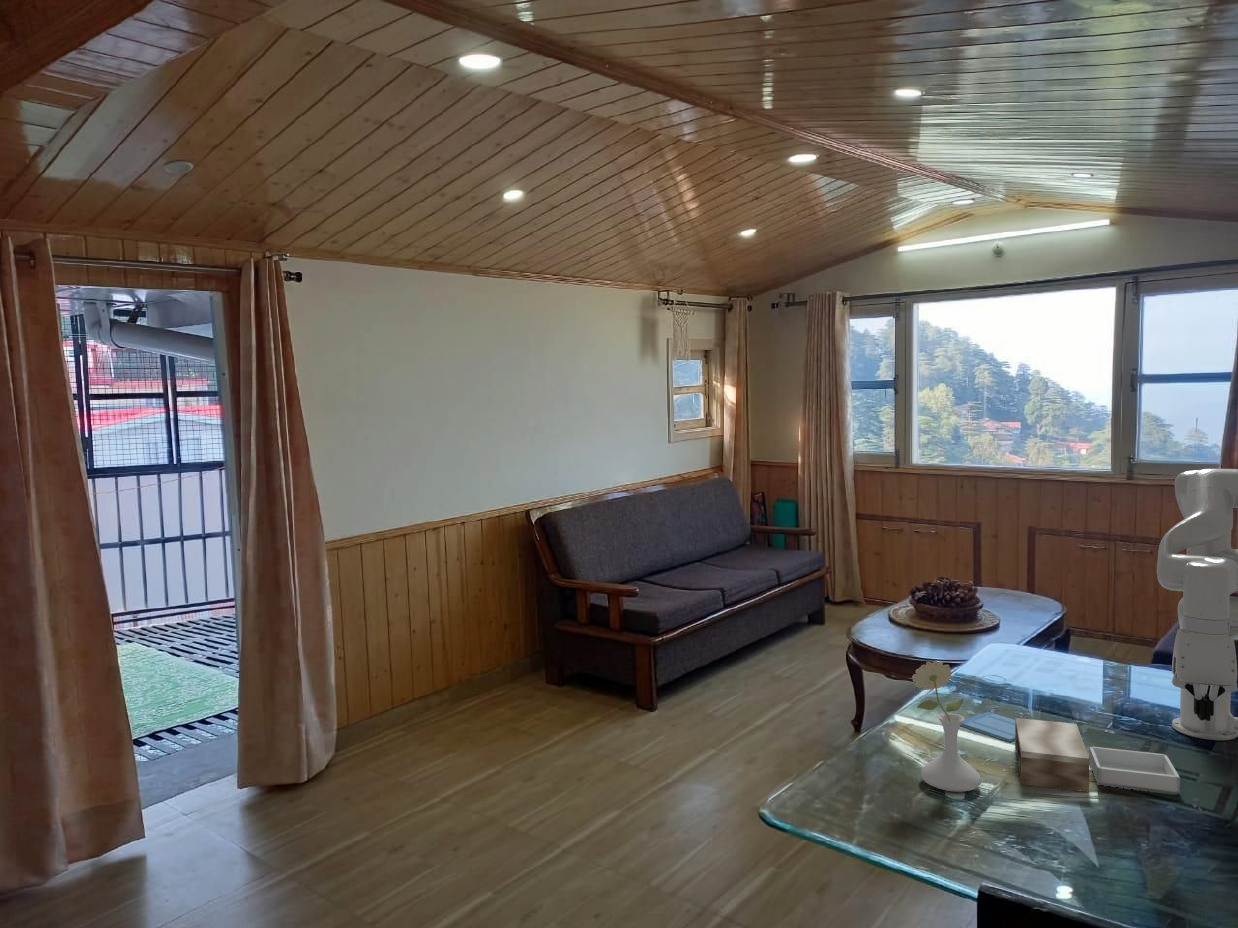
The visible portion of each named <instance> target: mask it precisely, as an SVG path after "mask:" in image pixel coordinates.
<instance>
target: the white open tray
mask: <svg viewBox="0 0 1238 928" xmlns="http://www.w3.org/2000/svg"><path fill="white" fill-rule="evenodd" d="M1088 747H1089V749H1088V750H1089V751H1088V756H1089V767H1090V768H1092V769H1091V772H1092V771H1093V772H1092V774H1093V773H1094V775H1093V777H1094V776H1095V777H1094V779H1096V780H1095V782H1096V781H1097V783H1096V785H1097V784H1099V785H1104V786H1103V787H1106V786H1111V787H1110V788H1115V787H1119V788H1118V789H1123V788H1124V789H1125V790H1131V789H1133V791H1140V790H1141V791H1142V792H1148V791H1149V792H1150V793H1158V794H1165V795H1166V794H1167V795H1174V796H1180V795H1181V791H1180V790H1181V777H1180V775H1179V773H1178V772H1177V770H1176V769H1175V767H1174V765H1173V763H1172V762H1171V760H1170V758H1169V756H1168V755H1167V754H1165V753H1158V752H1157V753H1156V752H1155V753H1154V752H1147V751H1136V750H1129V749H1128V750H1127V749H1120V748H1109V747H1099V746H1091V745H1090V746H1088ZM1149 792H1148V793H1149Z"/></svg>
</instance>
